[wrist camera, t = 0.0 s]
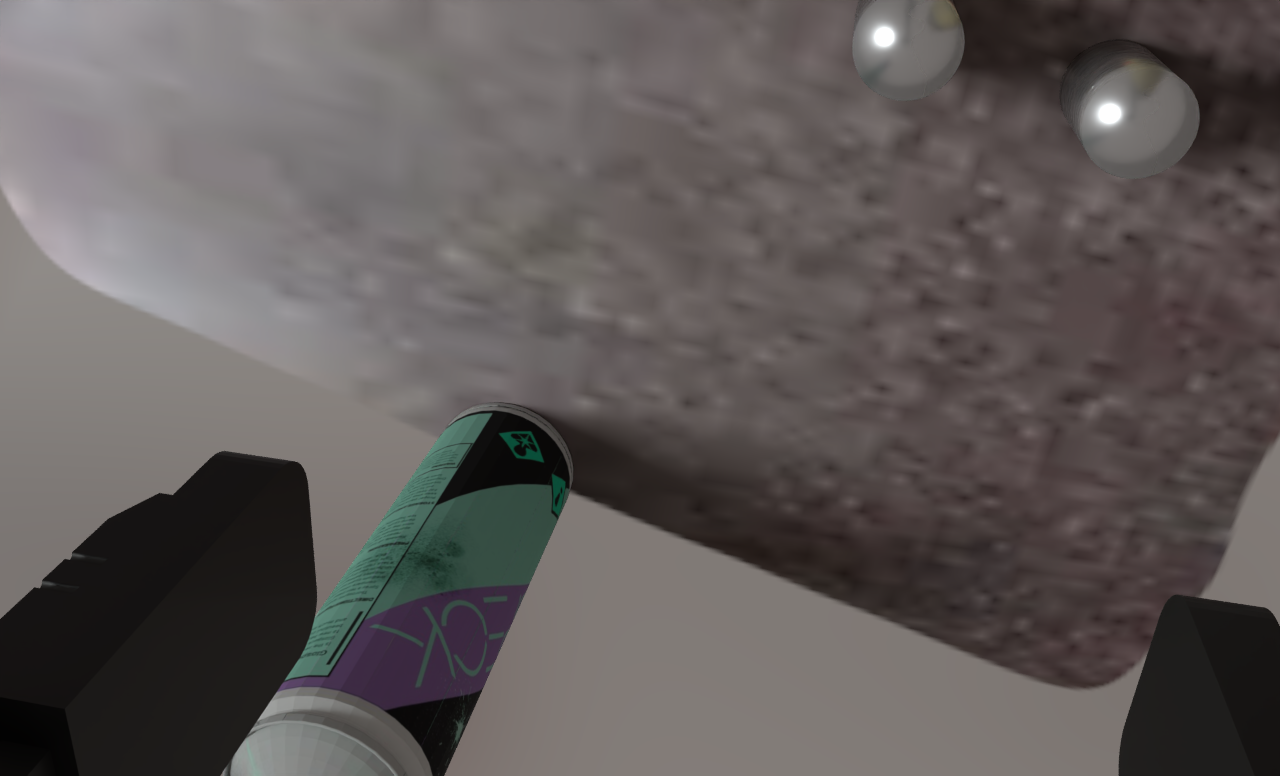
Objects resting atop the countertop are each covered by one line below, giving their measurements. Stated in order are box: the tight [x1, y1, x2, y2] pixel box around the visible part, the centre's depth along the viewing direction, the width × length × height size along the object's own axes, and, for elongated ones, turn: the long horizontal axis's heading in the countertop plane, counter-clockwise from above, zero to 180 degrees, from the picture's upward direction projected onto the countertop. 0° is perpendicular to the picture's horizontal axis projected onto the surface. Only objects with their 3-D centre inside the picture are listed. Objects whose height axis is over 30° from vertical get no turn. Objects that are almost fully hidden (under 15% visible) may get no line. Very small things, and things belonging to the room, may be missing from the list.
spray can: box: [223, 403, 573, 776], centre depth 37 cm, size 6×6×20 cm
